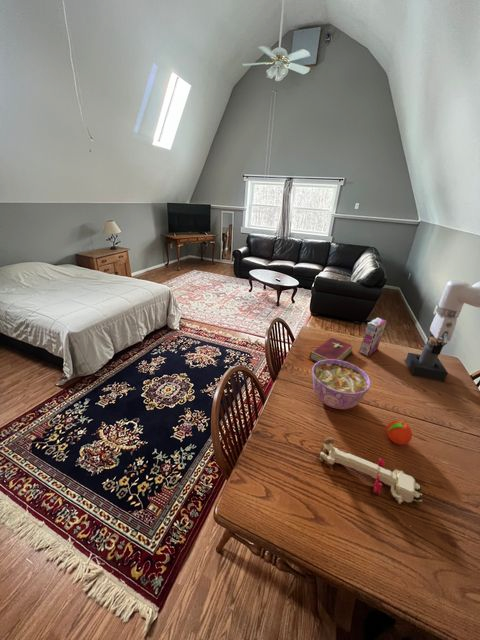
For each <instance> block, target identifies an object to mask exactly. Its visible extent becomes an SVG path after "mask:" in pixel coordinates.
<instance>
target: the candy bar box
mask: <svg viewBox="0 0 480 640" xmlns="http://www.w3.org/2000/svg"><path fill="white" fill-rule="evenodd" d="M386 324H387V320H386V319H383V318H381V317H376V318H374V319H372V320H370V321H369V322H367V324H366V327H365V332H364V334H363V338H362V341H361V344H360V347H359V351H358V353H359V354H362V355H364V356H366V357H369V356H371V355H372V354H373V353H374V352H376V351H377V350H378V349H379V347H380V346H379V345H380V343H381V341H382V336H383V333H384V331H385V327H386Z"/></svg>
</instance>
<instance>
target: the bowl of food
mask: <svg viewBox="0 0 480 640" xmlns="http://www.w3.org/2000/svg"><path fill="white" fill-rule="evenodd" d="M311 376H312V387H313V392H314V393H315V395H316V397H317V398H318V400H319V401H320V402H321V403H323V404H324V405H326V406H328V407H330V408H332V409H336V410H348V409H352V408H354V407H356V406H357V405H358V404H359V403H360V402H361V401H362V399H363V398H364V396H365V395H366V394H367V393H368V391H369V390H370V387H371V385H372V382H371V378H370V376H369V374H367V372H366V371H364V369H361V368H360V367H358V366H357V365H355V364H353V363H351V362H348V361H345V360H343V361H341V360H335V359H326V360H321V361H319V362H315V363H314V365H312V369H311Z"/></svg>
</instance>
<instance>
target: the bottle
mask: <svg viewBox="0 0 480 640" xmlns="http://www.w3.org/2000/svg"><path fill="white" fill-rule="evenodd" d="M439 339H441V337H440V338H439ZM427 340H428V339H427ZM435 342H436V338H435V337H430V339H429V340H428V342H427V341H426V343H427V345H426V344H425V345H424V346H423V349H422V351H421V353H420V355H421V356H420V358H419V363H420V365H424V366H430V367H433V366H434V364H435V362H436V360H437V358H439V355H438V354H432V353H431V350H432V348H433V345H435ZM439 342H441V340H439V341H438V343H439Z"/></svg>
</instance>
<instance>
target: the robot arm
mask: <svg viewBox="0 0 480 640" xmlns="http://www.w3.org/2000/svg"><path fill="white" fill-rule="evenodd" d="M465 304H466V305H469V306H471V307H475V308H478V309H479V308H480V281H477V282H476V283H474V284H473V285H471V284H469V283H468V282H466V281H462V280H448V281H447V282H446V285H445V287H444V289H443V292H442V294H441V297H440V299H439V303H438V304H437V307H436V310H435V314H434V317H433V320H432V322H431V324H430V326H429V334H428V337H427V341H426V343H425V345H427V342H428V340H429V339H430V337H435V338H436V342H435V345H433V348H432V350H431V353H432V354H438V356H439V355H441V353H442V350H443V348H444V347H445V346H446V345H447V344H448V342H450V341H451V340H452V337H453V334H454V332H455V328H456V325H457V321H458V319H459V316H460V314H461V312H462V309H463V307H464V305H465ZM439 338H440V339H439ZM439 340H441V342H439V343H438V341H439Z"/></svg>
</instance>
